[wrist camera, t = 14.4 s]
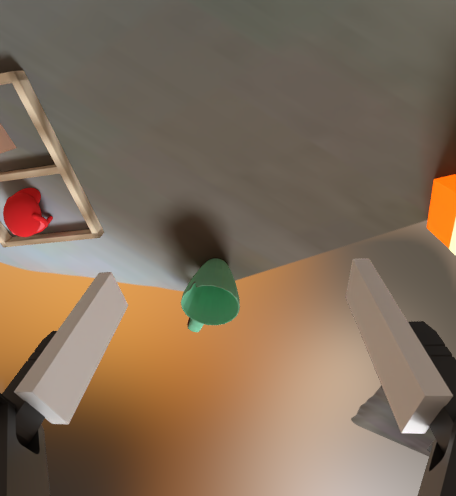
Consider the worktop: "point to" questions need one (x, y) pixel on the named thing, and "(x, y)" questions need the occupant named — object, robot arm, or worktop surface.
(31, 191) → the red rounded oval lump
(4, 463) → the robot arm
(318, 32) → the worktop surface
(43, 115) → the rack
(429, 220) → the orange juice
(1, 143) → the block
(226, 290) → the mug
